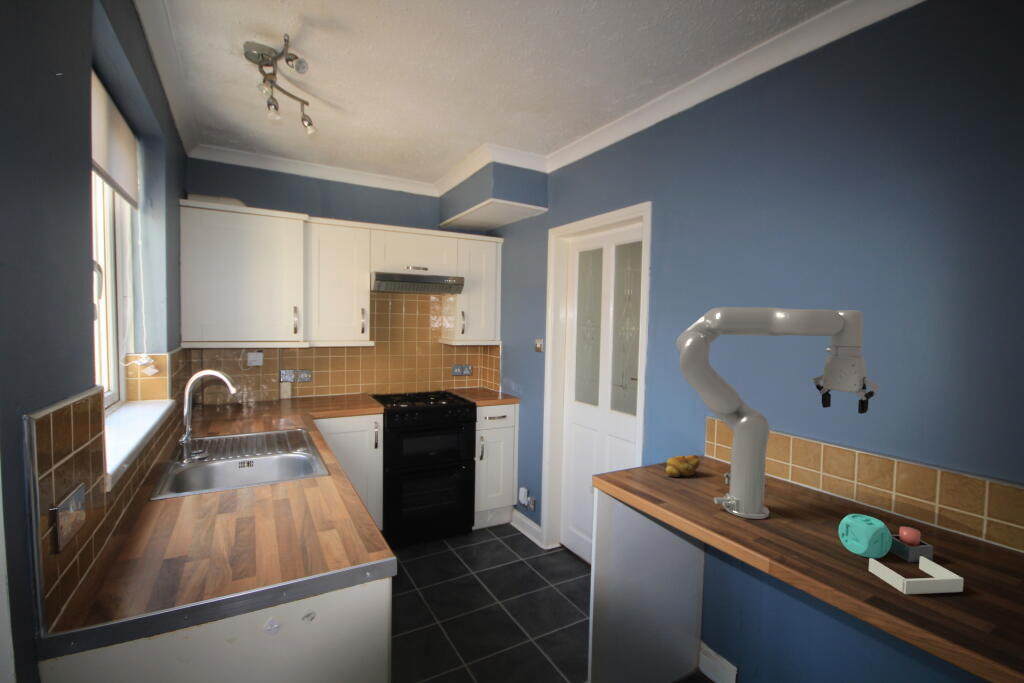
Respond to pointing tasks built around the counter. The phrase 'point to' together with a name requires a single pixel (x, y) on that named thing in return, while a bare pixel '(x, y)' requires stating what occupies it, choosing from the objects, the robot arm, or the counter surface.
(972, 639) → the counter surface
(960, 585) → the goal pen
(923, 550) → the button collar
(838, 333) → the robot arm
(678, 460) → the bread roll
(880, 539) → the decorative dice
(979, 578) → the counter surface
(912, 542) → the button
